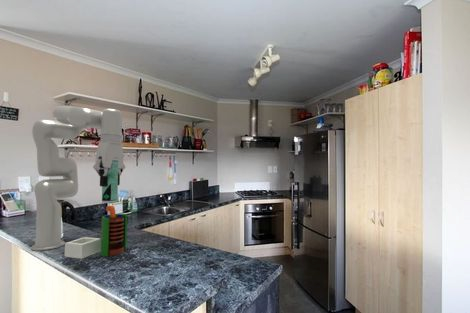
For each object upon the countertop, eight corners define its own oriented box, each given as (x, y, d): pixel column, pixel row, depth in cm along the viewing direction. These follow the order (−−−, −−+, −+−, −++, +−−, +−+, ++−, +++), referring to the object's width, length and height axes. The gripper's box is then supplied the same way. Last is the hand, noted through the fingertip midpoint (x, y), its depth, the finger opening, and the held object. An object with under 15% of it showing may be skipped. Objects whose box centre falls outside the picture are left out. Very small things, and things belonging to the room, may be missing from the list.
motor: (113, 257, 100) (114, 208, 101) (95, 255, 102) (95, 207, 103) (129, 249, 110) (129, 204, 111) (111, 248, 112) (112, 204, 113)
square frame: (64, 256, 102) (64, 243, 102) (84, 249, 111) (84, 237, 111) (81, 258, 99) (82, 244, 99) (100, 251, 108) (101, 238, 108)
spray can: (110, 200, 100) (111, 151, 101) (120, 201, 98) (121, 151, 99) (98, 202, 95) (99, 151, 96) (108, 203, 93) (110, 150, 94)
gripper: (119, 142, 107) (118, 184, 106) (84, 138, 91) (83, 187, 90) (133, 142, 105) (132, 184, 104) (100, 137, 89) (99, 187, 88)
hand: (109, 185), depth 97 cm, fingers closed on spray can, 5 cm apart
